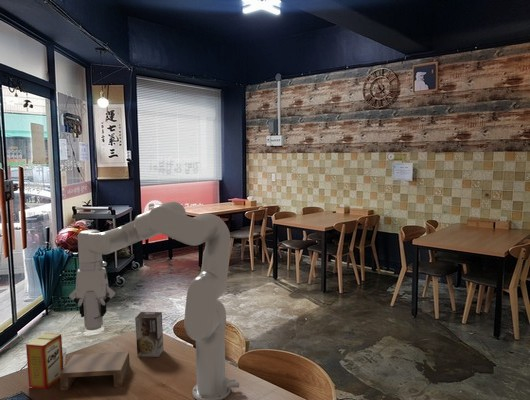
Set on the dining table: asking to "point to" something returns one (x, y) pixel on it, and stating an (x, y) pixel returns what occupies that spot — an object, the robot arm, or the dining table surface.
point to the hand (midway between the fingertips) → (93, 315)
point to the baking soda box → (44, 360)
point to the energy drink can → (92, 311)
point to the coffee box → (149, 334)
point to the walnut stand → (95, 367)
